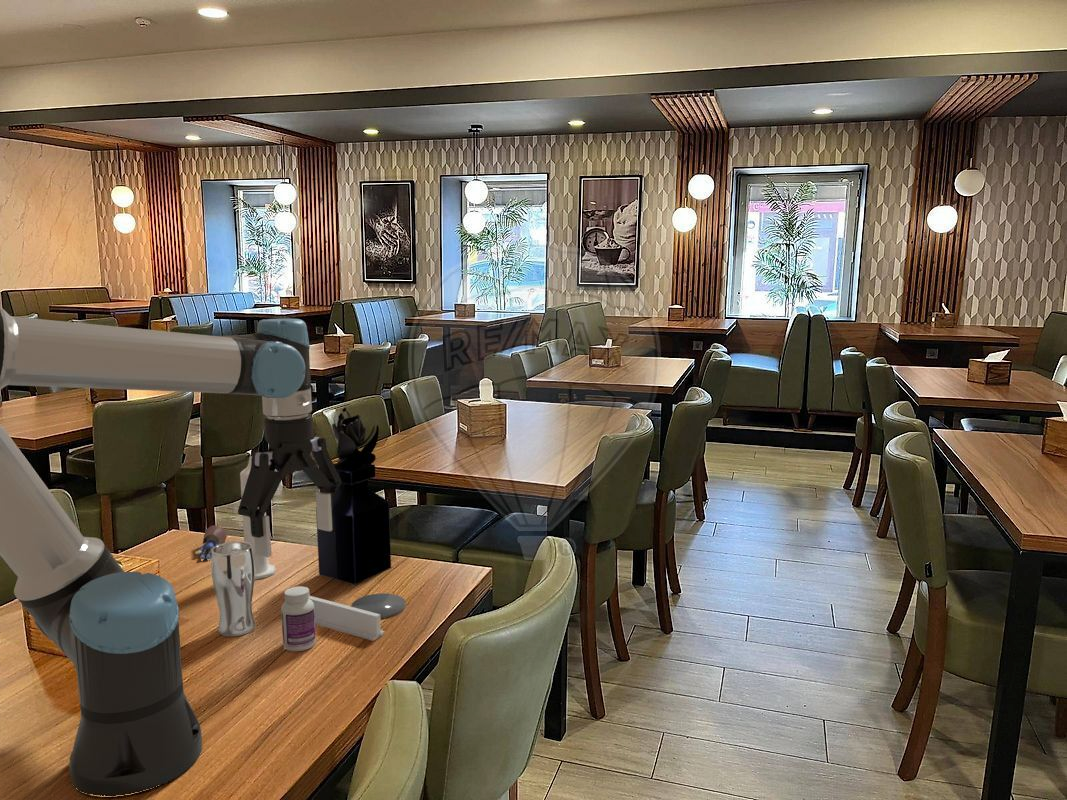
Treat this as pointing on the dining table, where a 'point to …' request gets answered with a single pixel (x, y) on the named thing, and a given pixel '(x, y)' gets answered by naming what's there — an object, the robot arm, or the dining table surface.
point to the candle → (260, 562)
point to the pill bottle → (298, 620)
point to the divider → (347, 619)
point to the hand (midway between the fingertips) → (295, 542)
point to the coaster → (381, 604)
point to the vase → (355, 511)
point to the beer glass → (234, 586)
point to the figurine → (211, 540)
